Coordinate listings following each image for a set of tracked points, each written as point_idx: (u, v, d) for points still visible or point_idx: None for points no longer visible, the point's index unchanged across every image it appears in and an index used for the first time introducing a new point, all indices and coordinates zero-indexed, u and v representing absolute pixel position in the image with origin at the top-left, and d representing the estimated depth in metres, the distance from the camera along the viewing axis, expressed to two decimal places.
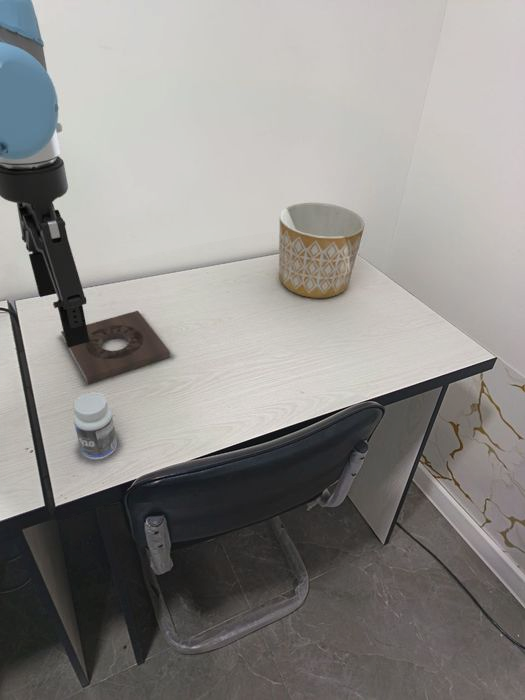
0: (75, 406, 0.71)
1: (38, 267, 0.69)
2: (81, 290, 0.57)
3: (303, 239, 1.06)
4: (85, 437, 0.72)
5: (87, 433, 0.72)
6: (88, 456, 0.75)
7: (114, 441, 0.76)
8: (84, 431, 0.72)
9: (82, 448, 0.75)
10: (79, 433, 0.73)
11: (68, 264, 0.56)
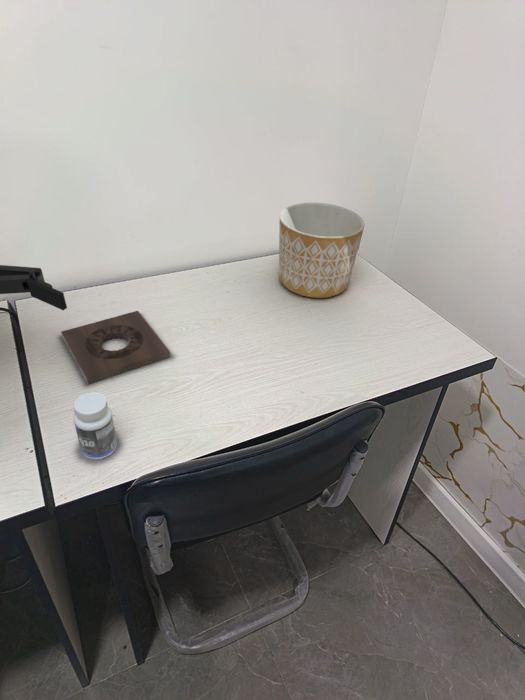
0: (75, 406, 0.71)
1: None
2: None
3: (303, 239, 1.06)
4: (85, 437, 0.72)
5: (87, 433, 0.72)
6: (88, 456, 0.75)
7: (114, 441, 0.76)
8: (84, 431, 0.72)
9: (82, 448, 0.75)
10: (79, 433, 0.73)
11: None
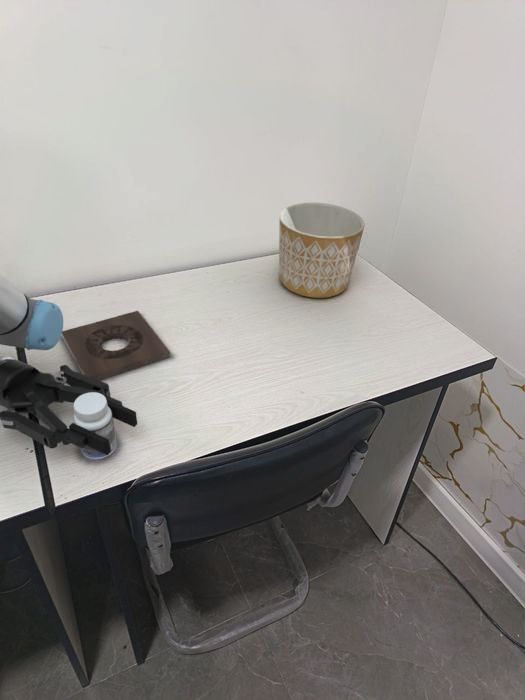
0: (75, 406, 0.71)
1: None
2: None
3: (303, 239, 1.06)
4: None
5: None
6: (88, 456, 0.75)
7: (114, 441, 0.76)
8: None
9: (82, 448, 0.75)
10: None
11: None
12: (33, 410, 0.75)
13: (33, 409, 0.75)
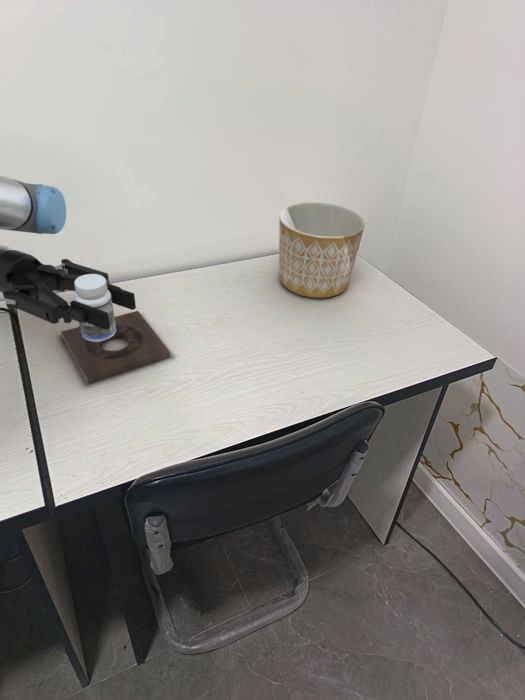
0: (76, 283, 0.74)
1: None
2: None
3: (303, 239, 1.06)
4: None
5: None
6: (88, 338, 0.78)
7: (113, 325, 0.79)
8: None
9: (82, 329, 0.78)
10: None
11: None
12: (35, 294, 0.78)
13: (35, 292, 0.78)
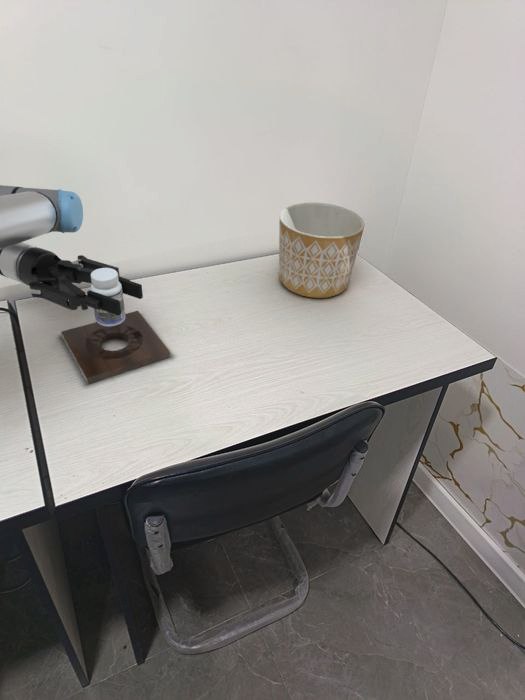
0: (92, 275, 0.86)
1: None
2: None
3: (303, 239, 1.06)
4: None
5: None
6: (102, 323, 0.91)
7: (123, 312, 0.92)
8: None
9: (97, 316, 0.90)
10: None
11: None
12: (56, 285, 0.91)
13: (56, 284, 0.91)
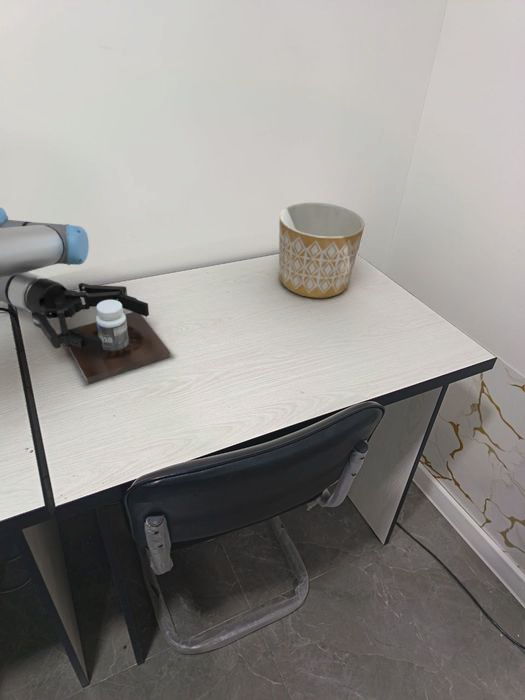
0: (97, 308, 0.91)
1: None
2: None
3: (303, 239, 1.06)
4: (105, 334, 0.92)
5: (107, 329, 0.91)
6: None
7: (127, 341, 0.96)
8: (104, 328, 0.91)
9: (102, 345, 0.95)
10: (100, 331, 0.92)
11: None
12: (57, 316, 0.95)
13: None
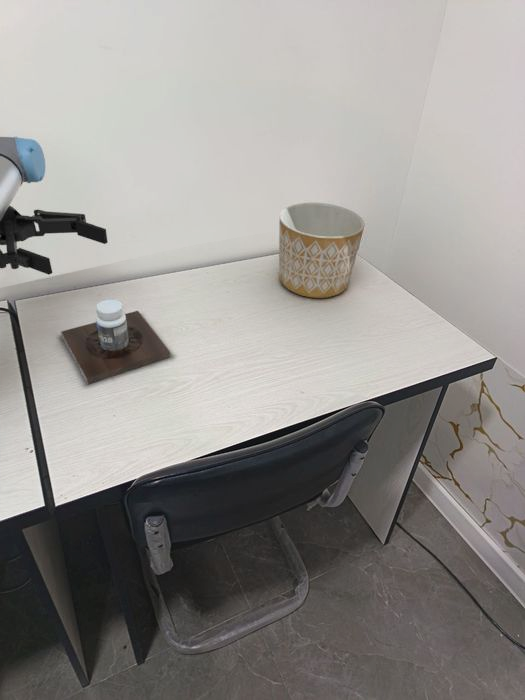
0: (97, 308, 0.91)
1: None
2: None
3: (303, 239, 1.06)
4: (105, 334, 0.92)
5: (107, 329, 0.91)
6: None
7: (127, 341, 0.96)
8: (104, 328, 0.91)
9: (102, 345, 0.95)
10: (100, 331, 0.92)
11: None
12: None
13: (13, 238, 0.88)
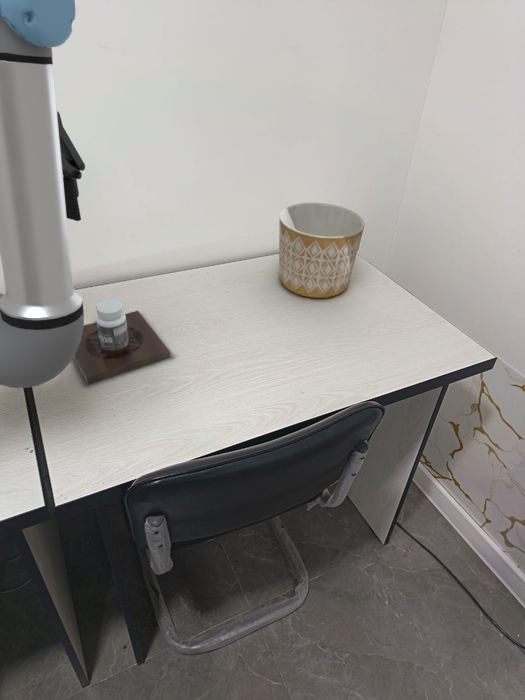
0: (97, 308, 0.91)
1: None
2: None
3: (303, 239, 1.06)
4: (105, 334, 0.92)
5: (107, 329, 0.91)
6: None
7: (127, 341, 0.96)
8: (104, 328, 0.91)
9: (102, 345, 0.95)
10: (100, 331, 0.92)
11: None
12: None
13: None
